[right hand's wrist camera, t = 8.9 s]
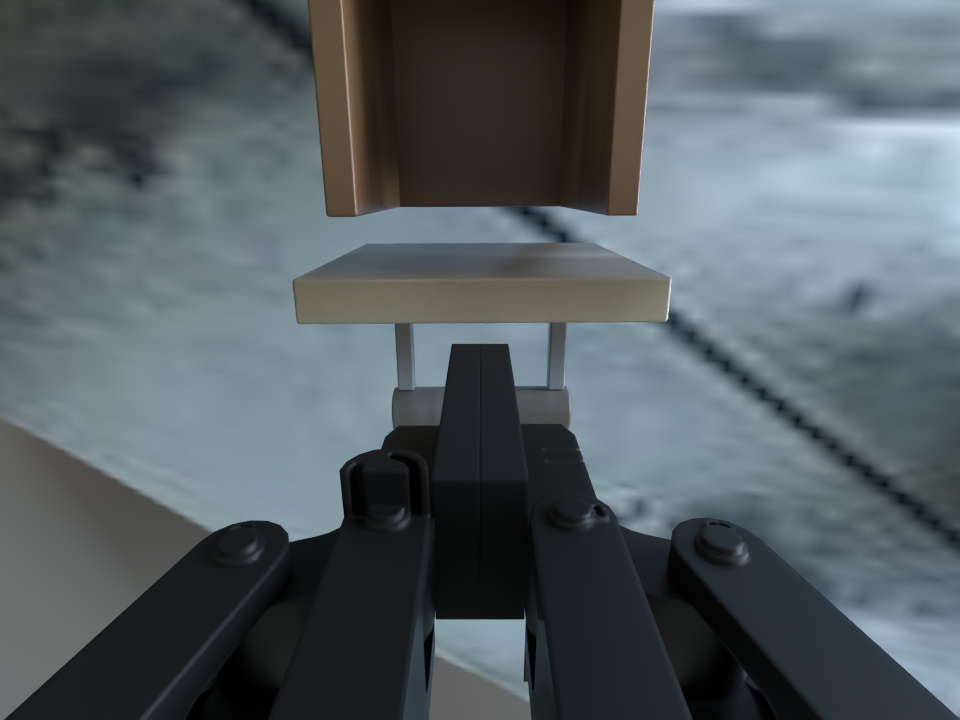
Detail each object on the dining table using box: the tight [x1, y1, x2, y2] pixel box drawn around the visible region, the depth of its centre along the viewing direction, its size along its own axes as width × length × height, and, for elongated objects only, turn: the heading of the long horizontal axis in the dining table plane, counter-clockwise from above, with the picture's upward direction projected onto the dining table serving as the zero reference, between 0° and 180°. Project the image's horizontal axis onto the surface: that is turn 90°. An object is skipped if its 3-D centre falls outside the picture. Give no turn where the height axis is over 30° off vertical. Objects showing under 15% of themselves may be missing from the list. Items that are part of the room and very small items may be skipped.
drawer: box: [293, 0, 672, 429], centre depth 17 cm, size 26×10×10 cm, turn 0°
